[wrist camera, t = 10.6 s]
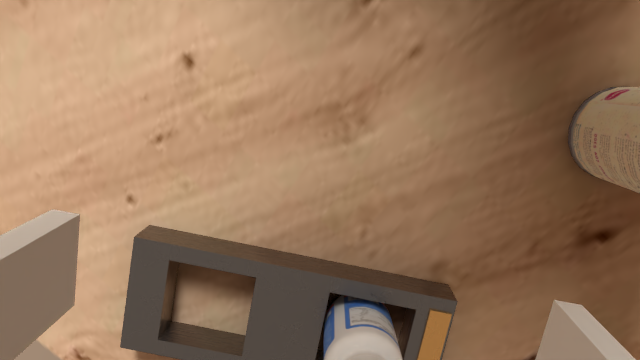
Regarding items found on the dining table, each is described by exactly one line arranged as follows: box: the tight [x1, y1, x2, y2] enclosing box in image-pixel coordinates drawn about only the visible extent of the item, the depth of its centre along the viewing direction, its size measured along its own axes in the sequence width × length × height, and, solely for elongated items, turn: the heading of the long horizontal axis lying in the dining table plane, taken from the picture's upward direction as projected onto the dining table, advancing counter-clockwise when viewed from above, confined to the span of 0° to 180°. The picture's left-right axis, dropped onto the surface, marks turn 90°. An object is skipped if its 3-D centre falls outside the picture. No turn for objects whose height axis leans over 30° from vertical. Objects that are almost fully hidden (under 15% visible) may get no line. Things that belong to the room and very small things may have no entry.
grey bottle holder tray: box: [120, 225, 457, 360], centre depth 39 cm, size 9×24×3 cm, turn 79°
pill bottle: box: [324, 295, 403, 360], centre depth 35 cm, size 6×5×10 cm
